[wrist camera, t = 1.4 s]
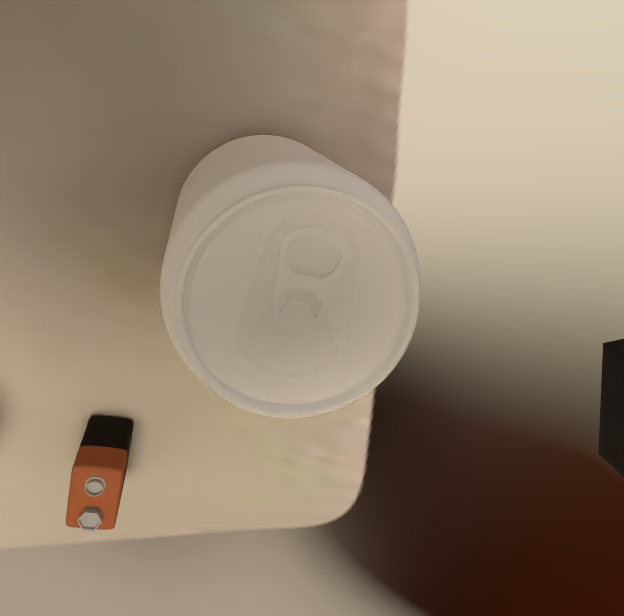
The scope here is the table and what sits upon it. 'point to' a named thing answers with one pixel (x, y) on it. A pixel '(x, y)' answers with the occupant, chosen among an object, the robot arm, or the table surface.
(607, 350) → the robot arm
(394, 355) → the beverage can
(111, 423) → the battery
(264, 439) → the table surface
